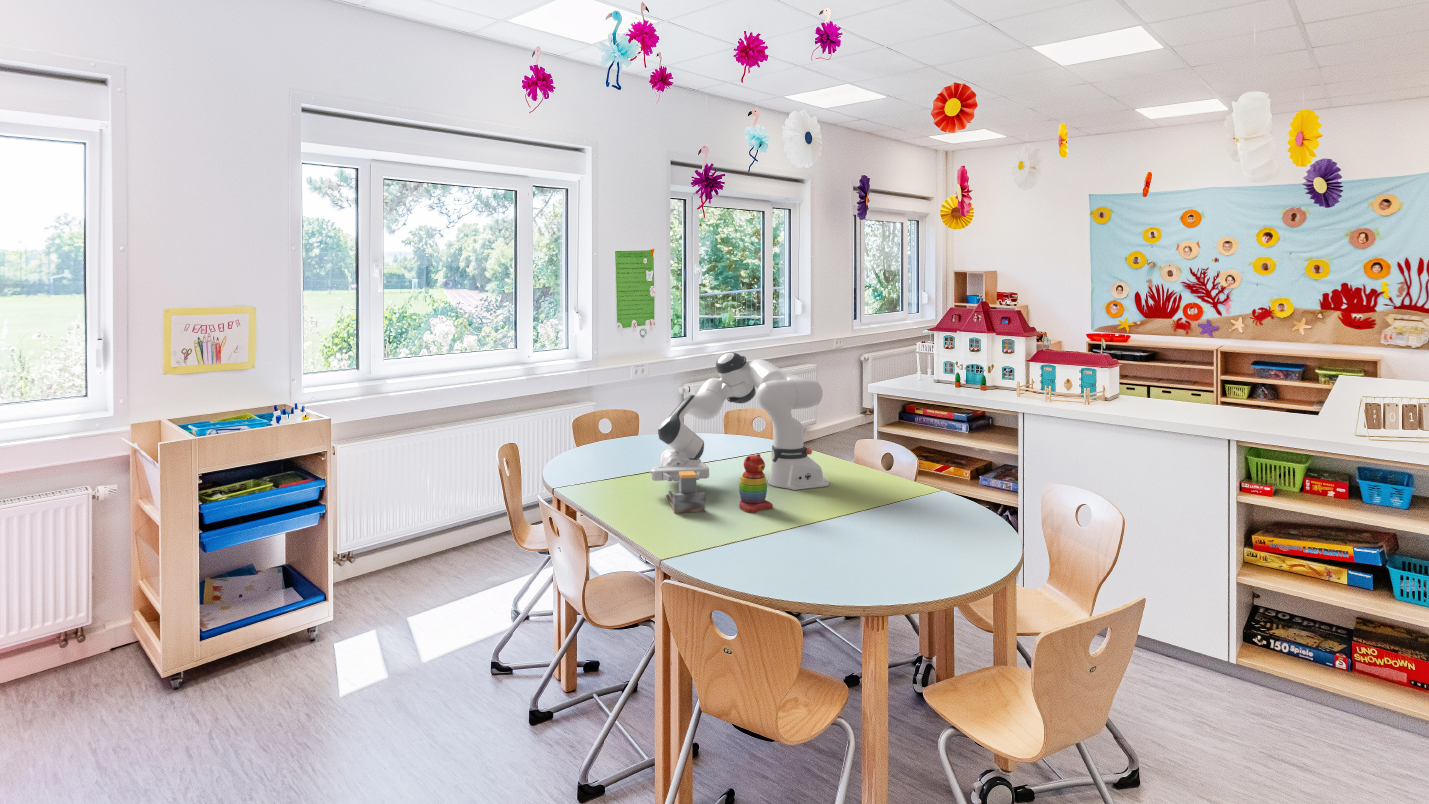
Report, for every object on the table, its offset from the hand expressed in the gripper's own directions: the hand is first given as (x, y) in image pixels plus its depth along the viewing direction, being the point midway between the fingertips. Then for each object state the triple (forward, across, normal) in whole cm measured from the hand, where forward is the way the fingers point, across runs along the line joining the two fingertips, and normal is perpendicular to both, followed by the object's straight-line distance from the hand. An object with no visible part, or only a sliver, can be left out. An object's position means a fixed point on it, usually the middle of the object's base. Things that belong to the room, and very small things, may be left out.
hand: (683, 478), depth 260 cm
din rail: (+3, 0, +8) cm, 9 cm away
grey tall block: (+8, 0, +7) cm, 10 cm away
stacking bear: (+10, +22, +8) cm, 26 cm away
